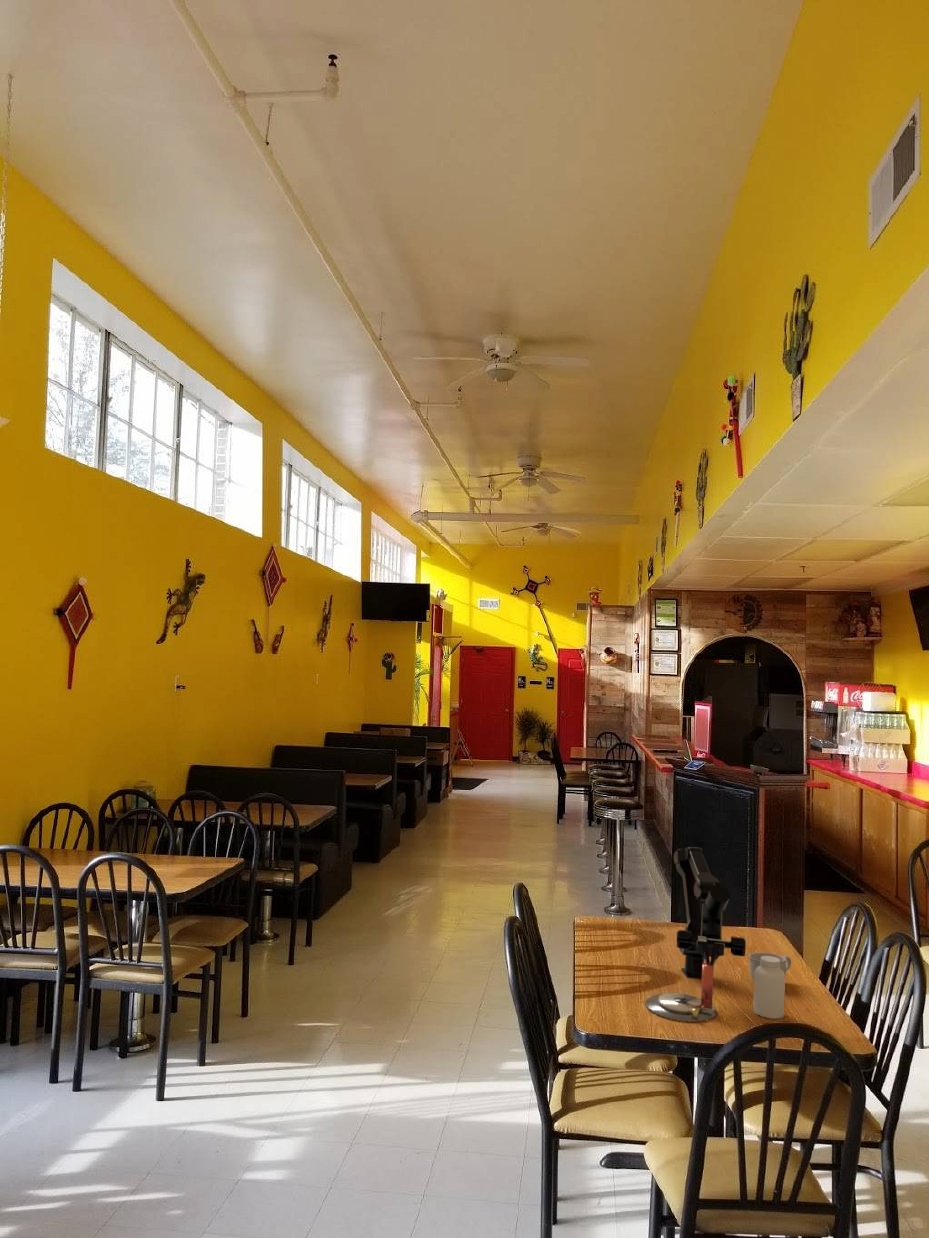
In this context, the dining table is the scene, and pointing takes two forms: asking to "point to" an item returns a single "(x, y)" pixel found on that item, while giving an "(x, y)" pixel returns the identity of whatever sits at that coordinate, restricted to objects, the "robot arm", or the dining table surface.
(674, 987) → the dining table surface
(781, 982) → the pill bottle
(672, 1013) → the post plate
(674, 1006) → the flange
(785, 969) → the teacup
